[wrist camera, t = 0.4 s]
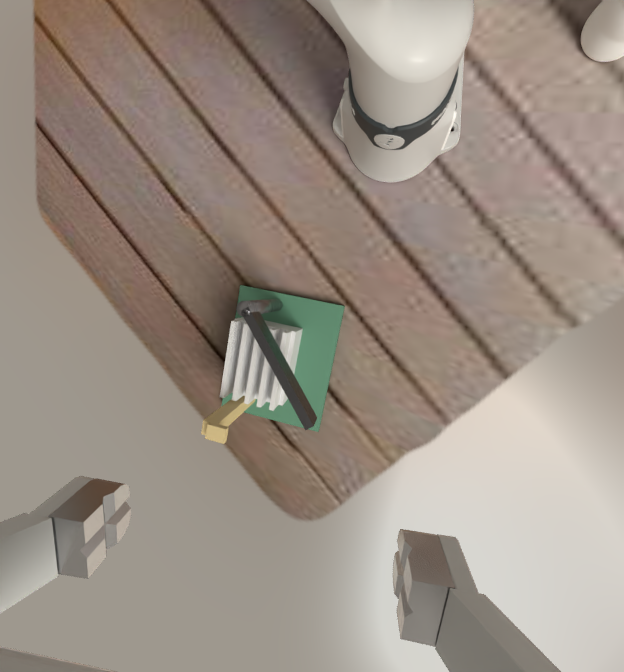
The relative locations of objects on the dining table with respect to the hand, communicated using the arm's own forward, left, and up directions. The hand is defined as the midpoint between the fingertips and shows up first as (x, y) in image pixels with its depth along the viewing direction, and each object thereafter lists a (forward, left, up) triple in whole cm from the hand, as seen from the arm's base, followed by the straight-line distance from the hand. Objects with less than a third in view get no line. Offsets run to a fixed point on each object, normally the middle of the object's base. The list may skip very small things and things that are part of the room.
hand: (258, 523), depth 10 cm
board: (+7, -11, -47) cm, 48 cm away
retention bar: (+4, -8, -45) cm, 46 cm away
